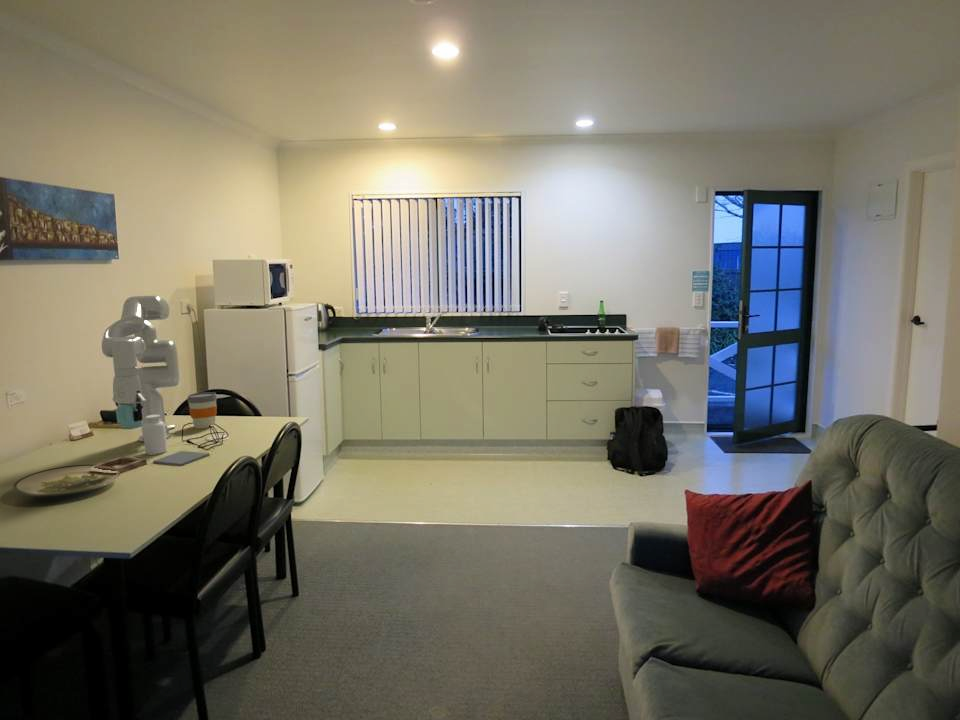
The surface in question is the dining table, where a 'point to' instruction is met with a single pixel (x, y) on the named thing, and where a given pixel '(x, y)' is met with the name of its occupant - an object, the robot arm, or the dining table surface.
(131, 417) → the turquoise mug
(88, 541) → the dining table surface
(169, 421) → the dining table surface
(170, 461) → the plate
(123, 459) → the brown square tray
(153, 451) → the pill bottle
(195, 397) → the reusable coffee cup
